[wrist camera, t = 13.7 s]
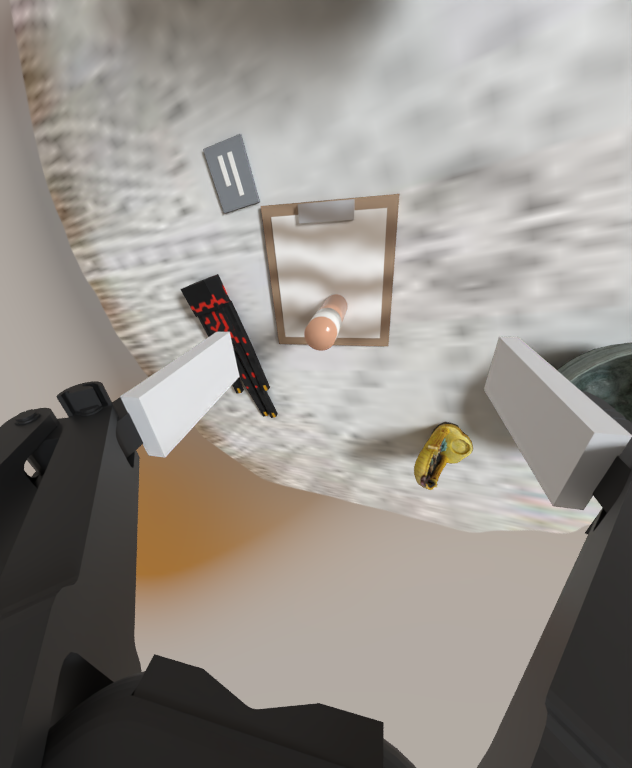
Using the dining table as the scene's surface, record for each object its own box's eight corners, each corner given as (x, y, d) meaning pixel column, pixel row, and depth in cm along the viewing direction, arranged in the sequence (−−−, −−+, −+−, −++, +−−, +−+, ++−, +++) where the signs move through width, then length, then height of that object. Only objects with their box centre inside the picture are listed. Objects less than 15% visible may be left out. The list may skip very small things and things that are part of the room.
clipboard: (262, 206, 42) (258, 205, 41) (399, 194, 38) (399, 193, 37) (280, 342, 53) (277, 345, 52) (388, 344, 49) (388, 348, 48)
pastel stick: (323, 294, 46) (302, 319, 34) (347, 293, 45) (335, 319, 33) (324, 318, 48) (305, 350, 36) (348, 318, 47) (336, 351, 35)
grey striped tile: (205, 150, 40) (202, 149, 40) (241, 135, 38) (239, 133, 38) (225, 213, 44) (223, 213, 43) (259, 202, 42) (258, 201, 42)
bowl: (703, 384, 42) (783, 425, 34) (557, 450, 53) (590, 494, 44) (628, 289, 38) (698, 309, 30) (487, 381, 49) (508, 414, 40)
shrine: (403, 440, 59) (407, 500, 46) (417, 410, 55) (426, 467, 42) (457, 455, 58) (477, 521, 45) (476, 426, 53) (504, 490, 41)
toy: (288, 405, 63) (223, 271, 49) (281, 419, 59) (209, 278, 45) (256, 411, 66) (186, 285, 52) (248, 425, 61) (170, 293, 47)
